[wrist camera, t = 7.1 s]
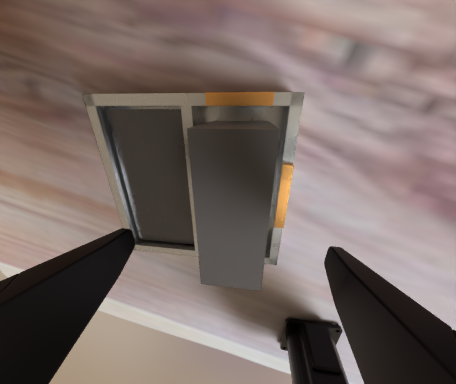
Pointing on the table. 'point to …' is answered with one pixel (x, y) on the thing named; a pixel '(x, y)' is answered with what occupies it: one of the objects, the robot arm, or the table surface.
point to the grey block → (232, 198)
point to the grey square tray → (181, 158)
